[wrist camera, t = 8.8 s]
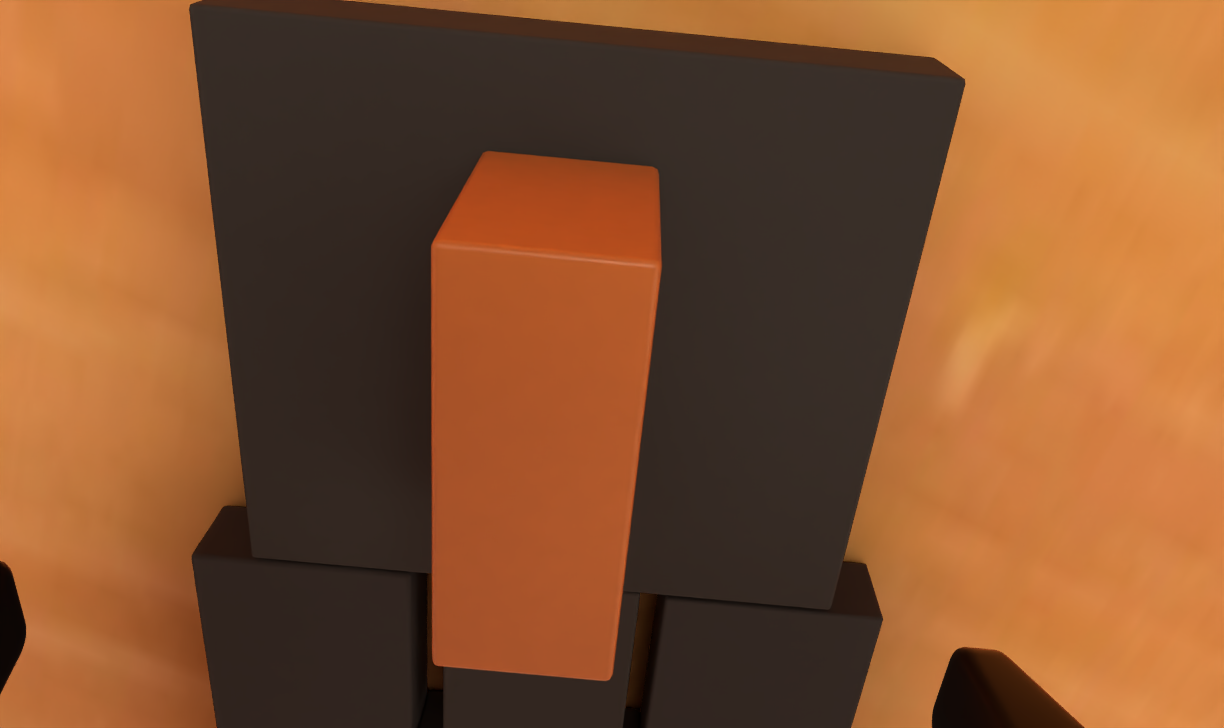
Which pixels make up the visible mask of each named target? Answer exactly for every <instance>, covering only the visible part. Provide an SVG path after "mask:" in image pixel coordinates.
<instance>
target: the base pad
mask: <svg viewBox="0 0 1224 728" xmlns="http://www.w3.org/2000/svg"><path fill="white" fill-rule="evenodd" d="M192 564H193V571H194V578H195V584H196V591H197V598H198V604H199V611H200V618H201V624H202V631H203V638H204V644H205V651H206V658H207V664H208V671H209V678H210V684H211V691H212V698H213V704H214V711H215V718H216V724H217V728H443V691H432V690H431V691H429V692H428V695H427V573H420V572H409V571H398V570H387V569H376V568H365V567H354V566H343V565H332V564H321V563H310V562H299V561H288V560H277V559H266V558H255V557H253V556H252V550H251V542H250V533H249V524H248V516H247V507H238V506H224V507H223V508H222V509H221V511H220V512H219V514H218V515H217V517H216V519H215V520H214V522H213V523H212V525H211V526H210V528H209V529H208V531H207V532H206V534H205V535H204V537H203V538H202V540H201V541H200V543H199V544H198V546H197V548H196V549H195V551H194V552H193V554H192ZM882 621H883V617H882V614H881V611H880V608H879V604H878V601H877V598H876V595H875V591H874V588H873V585H872V582H871V578H870V575H869V572H868V569H867V565H866V564H862V563H851V562H843V563H842V567H841V571H840V575H839V579H838V582H837V586H836V590H835V594H834V598H833V602H832V606H831V608H830V609H828V610H826V609H815V608H804V607H793V606H782V605H771V604H760V603H749V602H738V601H727V600H716V599H705V598H694V597H683V596H672V595H661V594H657V599H656V606H655V613H654V620H653V627H652V634H651V641H650V648H649V654H648V661H647V668H646V675H645V682H644V689H643V696H642V702H641V709H640V711H639V710H638V709H631V708H625V714H624V722H623V728H851V726H852V723H853V719H854V716H855V713H856V709H857V706H858V702H859V699H860V696H861V692H862V689H863V686H864V682H865V679H866V675H867V672H868V669H869V665H870V662H871V658H872V655H873V652H874V648H875V645H876V641H877V638H878V635H879V631H880V628H881V625H882Z"/></svg>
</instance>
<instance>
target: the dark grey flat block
mask: <svg viewBox="0 0 1224 728" xmlns="http://www.w3.org/2000/svg"><path fill="white" fill-rule="evenodd" d="M189 11H190V20H191V29H192V37H193V46H194V55H195V64H196V72H197V81H198V90H199V98H200V107H201V116H202V124H203V133H204V142H205V150H206V159H207V168H208V177H209V185H210V194H211V203H212V211H213V220H214V229H215V237H216V246H217V255H218V263H219V272H220V281H221V290H222V298H223V307H224V316H225V324H226V333H227V342H228V350H229V359H230V368H231V377H232V385H233V394H234V403H235V411H236V420H237V429H238V437H239V446H240V455H241V463H242V472H243V481H244V490H245V498H246V507H247V516H248V524H249V533H250V542H251V550H252V556H253V557H255V558H266V559H277V560H288V561H299V562H310V563H321V564H332V565H343V566H354V567H365V568H376V569H387V570H398V571H409V572H420V573H431V574H432V660H433V663H434V664H435V665H437V666H443V728H623V722H624V714H625V706H626V699H627V691H628V684H629V676H630V668H631V661H632V653H633V646H634V638H635V630H636V623H637V615H638V608H639V600H640V593H650V594H661V595H672V596H683V597H694V598H705V599H716V600H727V601H738V602H749V603H760V604H771V605H782V606H793V607H804V608H815V609H826V610H828V609H830V608H831V606H832V602H833V598H834V594H835V590H836V586H837V582H838V579H839V575H840V571H841V567H842V563H843V559H844V555H845V551H846V547H847V543H848V540H849V536H850V532H851V528H852V524H853V520H854V516H855V512H856V508H857V504H858V501H859V497H860V493H861V489H862V485H863V481H864V477H865V473H866V469H867V465H868V462H869V458H870V454H871V450H872V446H873V442H874V438H875V434H876V430H877V426H878V423H879V419H880V415H881V411H882V407H883V403H884V399H885V395H886V391H887V387H888V383H889V380H890V376H891V372H892V368H893V364H894V360H895V356H896V352H897V348H898V344H899V341H900V337H901V333H902V329H903V325H904V321H905V317H906V313H907V309H908V305H909V302H910V298H911V294H912V290H913V286H914V282H915V278H916V274H917V270H918V266H919V263H920V259H921V255H922V251H923V247H924V243H925V239H926V235H927V231H928V227H929V224H930V220H931V216H932V212H933V208H934V204H935V200H936V196H937V192H938V188H939V185H940V181H941V177H942V173H943V169H944V165H945V161H946V157H947V153H948V149H949V146H950V142H951V138H952V134H953V130H954V126H955V122H956V118H957V114H958V110H959V107H960V103H961V99H962V95H963V91H964V87H965V79H964V78H962V77H961V76H959V75H958V74H956V73H955V72H954V71H952V70H951V69H949V68H948V67H947V66H945V65H944V64H942V63H941V62H939V61H938V60H936V59H935V58H931V57H921V56H910V55H900V54H890V53H880V52H869V51H859V50H849V49H838V48H828V47H818V46H807V45H797V44H787V43H776V42H766V41H756V40H746V39H735V38H725V37H715V36H704V35H694V34H684V33H673V32H663V31H653V30H642V29H632V28H622V27H611V26H601V25H591V24H581V23H570V22H560V21H550V20H539V19H529V18H519V17H508V16H498V15H488V14H477V13H467V12H457V11H447V10H436V9H426V8H416V7H405V6H395V5H385V4H374V3H364V2H354V1H343V0H202V1H199V2H196V3H193V4H191V5H190V8H189Z"/></svg>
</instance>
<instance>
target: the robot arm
mask: <svg viewBox="0 0 1224 728" xmlns="http://www.w3.org/2000/svg"><path fill="white" fill-rule="evenodd" d="M25 638H26V623H25V619H24V615H23V611H22V608H21V604H20V600H19V596H18V593H17V589H16V585H15V581H14V578H13V574H12V571H11V569H10V568H9V567H8V565H7V564H6V563H4V562H1V561H0V694H1V692H2V690H3V688H4V686H5V684H6V682H7V680H8V678H9V676H10V674H11V672H12V670H13V668H14V666H15V664H16V662H17V660H18V658H19V656H20V654H21V652H22V649H23V646H24V643H25ZM932 728H1084V727H1083V726H1082V725H1081V724H1080V723H1079V722H1078V721H1077V720H1076V719H1075V718H1073V717H1072V716H1071V715H1070V714H1069V713H1068V712H1067V711H1066V710H1065V709H1064V708H1063V707H1062V706H1061V705H1059V704H1058V703H1057V702H1056V701H1055V700H1054V699H1053V698H1052V697H1051V696H1050V695H1049V694H1048V693H1046V692H1045V691H1044V690H1043V689H1042V688H1041V687H1040V686H1039V685H1038V684H1037V683H1036V682H1035V681H1034V680H1032V679H1031V678H1030V677H1029V676H1028V675H1027V674H1026V673H1025V672H1024V671H1023V670H1022V669H1021V668H1019V667H1018V666H1017V665H1016V664H1015V663H1014V662H1013V661H1012V660H1011V659H1010V658H1009V657H1007V656H1006V655H1005V654H1003V653H1002V652H1000V651H996V650H990V649H979V648H968V647H962V648H959V649H957V650H956V651H955V652H954V653H953V655H952V657H951V659H950V661H949V664H948V667H947V670H946V673H945V676H944V679H943V681H942V684H941V687H940V690H939V693H938V696H937V699H936V702H935V705H934V708H933V714H932Z"/></svg>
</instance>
